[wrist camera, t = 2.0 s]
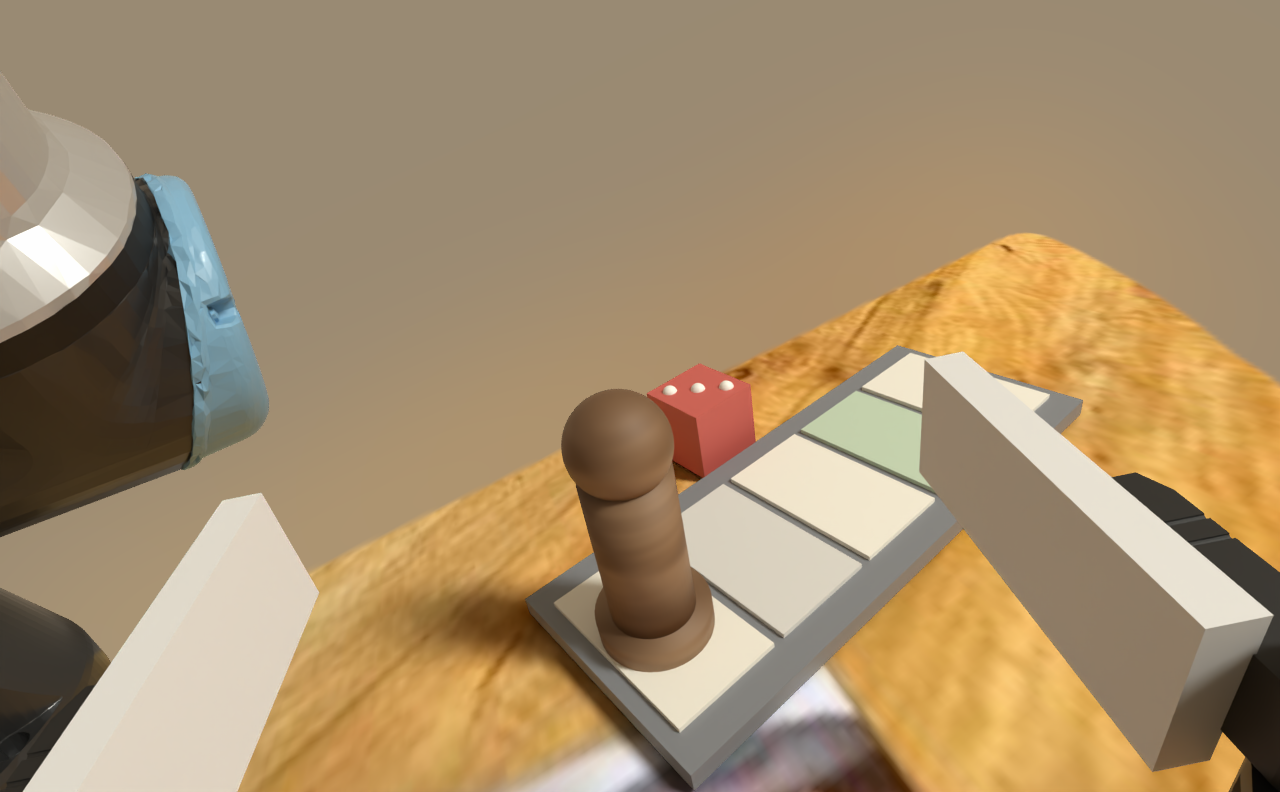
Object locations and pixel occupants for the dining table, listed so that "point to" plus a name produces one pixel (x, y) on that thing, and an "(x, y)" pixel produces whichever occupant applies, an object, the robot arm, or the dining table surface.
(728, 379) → the red die
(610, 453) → the pawn
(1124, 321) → the dining table surface
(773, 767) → the dining table surface
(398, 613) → the dining table surface
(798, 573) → the game board
